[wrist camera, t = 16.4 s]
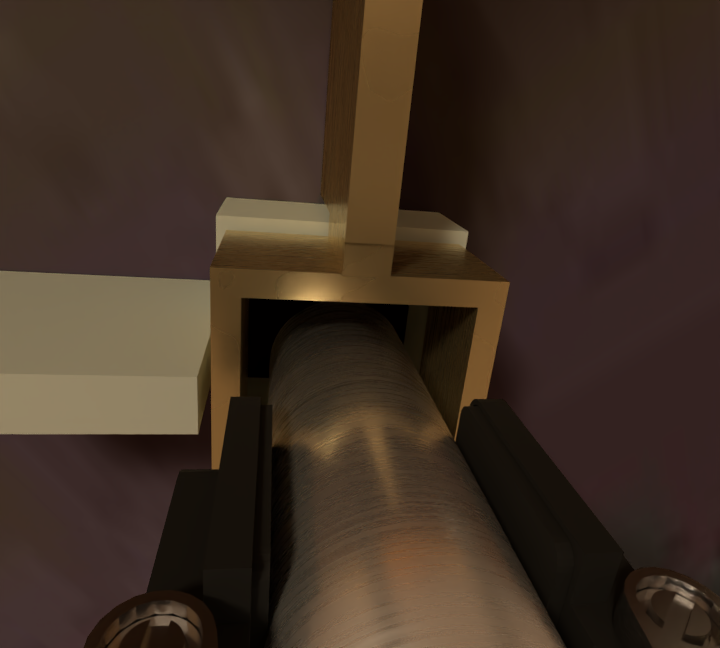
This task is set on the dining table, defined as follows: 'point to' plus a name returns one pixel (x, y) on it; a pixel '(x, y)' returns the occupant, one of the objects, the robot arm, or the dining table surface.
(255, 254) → the fixed leaf
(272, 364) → the pin
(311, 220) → the loose leaf
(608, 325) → the dining table surface
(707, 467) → the dining table surface
